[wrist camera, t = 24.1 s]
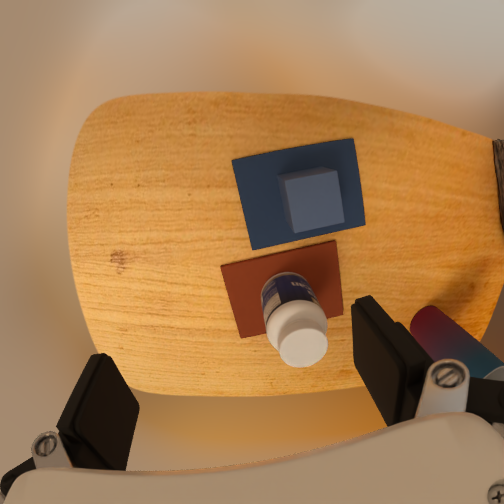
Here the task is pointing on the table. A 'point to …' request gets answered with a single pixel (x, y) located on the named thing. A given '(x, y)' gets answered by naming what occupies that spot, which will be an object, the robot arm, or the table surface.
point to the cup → (454, 344)
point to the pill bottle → (294, 319)
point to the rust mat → (263, 268)
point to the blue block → (311, 198)
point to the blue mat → (269, 198)
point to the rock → (500, 172)
